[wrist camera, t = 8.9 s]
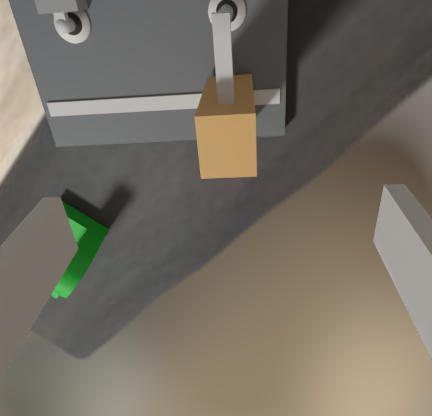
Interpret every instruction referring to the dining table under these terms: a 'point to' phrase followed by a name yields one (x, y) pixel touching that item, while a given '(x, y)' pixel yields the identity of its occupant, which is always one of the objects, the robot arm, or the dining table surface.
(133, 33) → the plate
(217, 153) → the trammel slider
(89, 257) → the mechanical part
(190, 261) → the dining table surface
